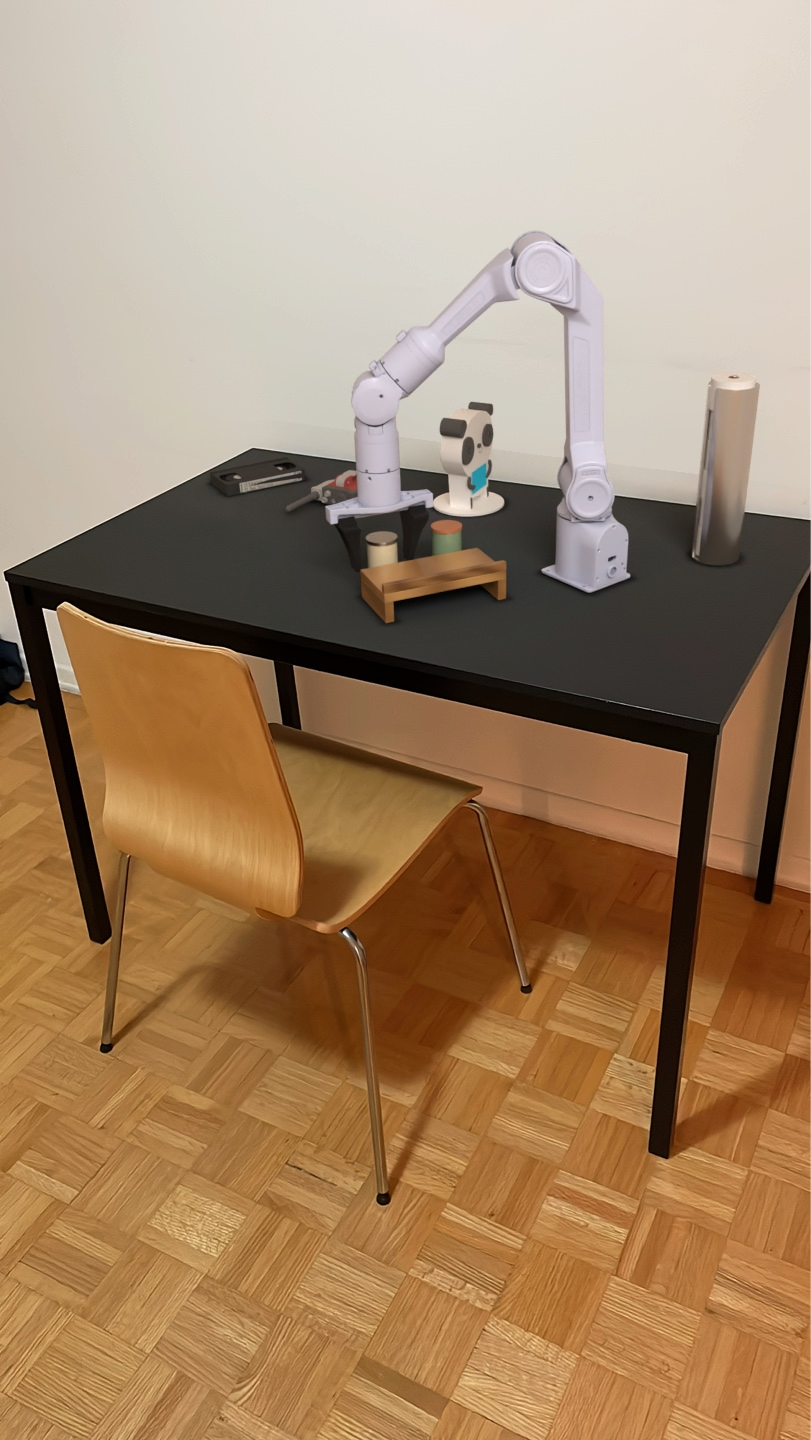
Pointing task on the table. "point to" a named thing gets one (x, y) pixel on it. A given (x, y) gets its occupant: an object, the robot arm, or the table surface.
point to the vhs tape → (257, 476)
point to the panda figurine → (468, 462)
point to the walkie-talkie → (331, 491)
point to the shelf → (430, 578)
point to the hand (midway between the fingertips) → (382, 564)
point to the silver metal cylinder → (724, 467)
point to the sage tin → (446, 537)
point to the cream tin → (381, 548)
